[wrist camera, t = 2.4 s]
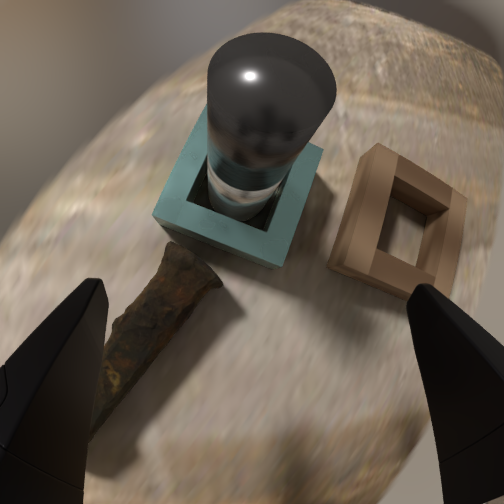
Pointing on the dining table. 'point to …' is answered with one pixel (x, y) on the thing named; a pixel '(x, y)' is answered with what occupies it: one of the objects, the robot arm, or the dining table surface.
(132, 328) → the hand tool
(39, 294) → the dining table surface
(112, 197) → the dining table surface
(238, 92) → the grey and white cylinder
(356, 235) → the frame
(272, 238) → the socket block
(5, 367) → the robot arm
